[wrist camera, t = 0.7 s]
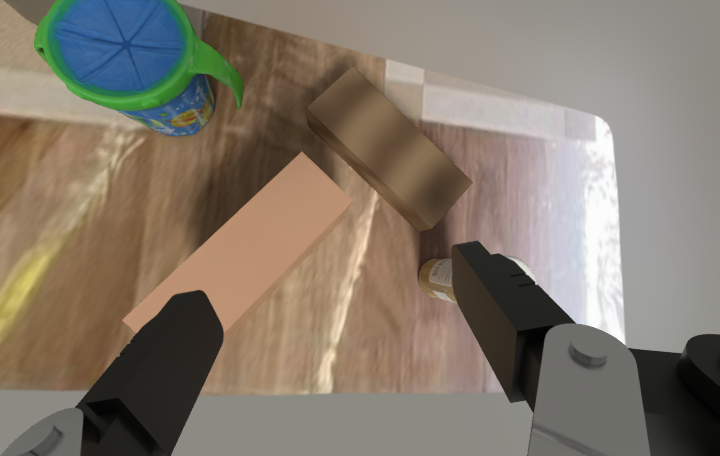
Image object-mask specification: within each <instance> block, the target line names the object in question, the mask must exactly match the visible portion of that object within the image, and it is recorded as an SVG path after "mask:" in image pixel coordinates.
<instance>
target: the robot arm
mask: <svg viewBox="0 0 720 456" xmlns="http://www.w3.org/2000/svg"><path fill="white" fill-rule="evenodd" d="M4 1H5V2H6V3H7V4H9V5H10V6H11V7H12V8H13V9H15V10H16V11H17V12H18V13H19V14H21V15H22V16H23V17H24V18H26V19H28V20H29V21H31V22H32V23H35V24H37V25H39V23H40V21H41V19H42V18H43V17H44V16H46V15H47V14H48V12H49V10H50V8H51V7H52V5H53V4H54V2H55V1H56V0H4ZM451 255H452V281H453V291H454V295H455V298H456V301H457V304H458V306H459V307H460V309H461V311H462V313H463V315H464V317H465V319H466V321H467V322H468V324H469V326H470V328H471V330H472V332H473V334H474V336H475V337H476V339H477V341H478V343H479V345H480V347H481V349H482V351H483V352H484V354H485V356H486V358H487V360H488V362H489V364H490V365H491V367H492V369H493V371H494V373H495V375H496V377H497V379H498V380H499V382H500V384H501V386H502V388H503V390H504V392H505V394H506V395H507V397H508V399H509V401H510V403H513V402H519V401H525V400H526V401H527V403H528V404H529V407H530V408H531V410H532V412H533V420H532V427H531V434H530V441H529V447H528V454H527V456H720V335H717V334H703V335H698V336H695V337H692V338H691V339H690V340H688V342H687V344H686V346H685V348H684V350H683V353H682V354H681V353H671V352H660V351H650V350H640V349H631V348H627V347H626V346H625V345H624V344H623V343H622V342H620V341H619V340H618V339H616V338H615V337H613V336H612V335H610V334H608V333H606V332H604V331H602V330H599V329H597V328H594V327H591V326H587V325H582V324H576V323H575V322H574V321H573V320H572V319H571V318H570V317H569V316H568V315H567V314H566V313H565V312H564V311H563V310H562V309H561V308H560V307H559V306H558V305H557V304H556V303H555V302H554V301H553V300H552V299H551V298H550V297H549V295H548V294H547V293H546V292H545V291H544V290H543V289H542V288H541V287H540V286H539V285H536V284H535V281H534V280H533V279H532V278H531V277H530V276H529V275H526V272H525V271H524V270H523V269H522V268H521V267H520V266H519V265H518V264H517V263H516V262H515V261H513V260H511V259H509V258H507V257H505V256H503V255H501V254H499V253H498V254H493V255H490V253H489V252H488V251H487V250H486V249H485V248H484V247H483V246H482V244H481V243H480V242H479V241H473V242H467V243H462V244H456V245H453V246H452V250H451ZM223 339H224V331H223V326H222V324H221V322H220V320H219V318H218V316H217V314H216V312H215V310H214V308H213V306H212V304H211V302H210V301H209V299H208V297H207V295H206V293H205V292H204V291H202V290H195V291H190V292H184V293H178V294H175V295H173V296H172V297H171V298H170V299H169V301H168V302H167V303H166V304H165V305H164V307H163V308H162V309H161V310H160V312H159V313H158V314H157V315H156V316H155V317H154V318H152V319H151V320H150V321H149V322H147V323H146V324H145V325H144V326H142V328H141V329H140V330H139V331H138V332H137V334H136V335H135V336H134V337H133V338H132V340H131V341H130V342H131V343H130V344H127V346H126V347H125V348H124V349H123V350H122V352H121V353H120V357H117V358H116V359H115V360H114V361H113V362H112V364H111V365H110V366H109V367H108V368H107V370H106V371H105V372H104V373H103V375H102V376H101V377H100V378H99V379H98V381H97V382H96V383H95V384H94V385H93V387H92V388H91V389H90V390H89V391H88V393H87V394H86V395H85V396H84V398H83V399H82V400H81V401H80V402H79V403H78V405H77V406H76V407H75V408H69V409H64V410H61V411H58V412H56V413H54V414H52V415H50V416H48V417H46V418H44V419H43V420H41V421H39V422H38V423H36V424H35V425H33V426H32V427H30V428H29V429H28V430H27V431H26V432H24V433H23V434H22V435H20V436H19V437H18V438H17V439H16V440H15V441H14V442H13V443H12V444H11V445H10V446H9V447H8V448H7V449H6V450H5V451H4V452H3V453H2V455H1V456H171V454H172V452H173V449H174V447H175V445H176V443H177V441H178V439H179V437H180V434H181V432H182V430H183V428H184V426H185V423H186V421H187V419H188V417H189V415H190V413H191V411H192V408H193V406H194V404H195V402H196V400H197V398H198V396H199V393H200V391H201V389H202V387H203V385H204V383H205V380H206V378H207V376H208V374H209V372H210V370H211V367H212V365H213V363H214V361H215V359H216V357H217V355H218V352H219V350H220V348H221V346H222V343H223Z"/></svg>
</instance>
